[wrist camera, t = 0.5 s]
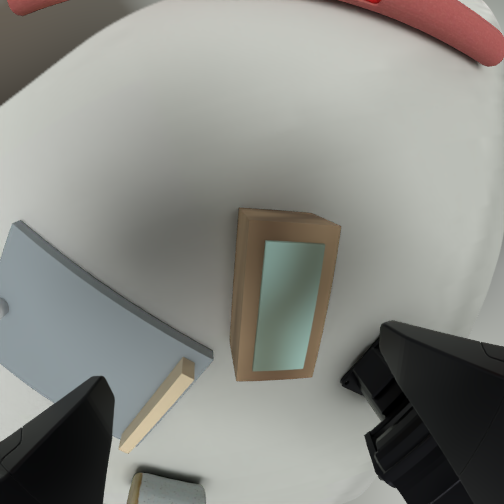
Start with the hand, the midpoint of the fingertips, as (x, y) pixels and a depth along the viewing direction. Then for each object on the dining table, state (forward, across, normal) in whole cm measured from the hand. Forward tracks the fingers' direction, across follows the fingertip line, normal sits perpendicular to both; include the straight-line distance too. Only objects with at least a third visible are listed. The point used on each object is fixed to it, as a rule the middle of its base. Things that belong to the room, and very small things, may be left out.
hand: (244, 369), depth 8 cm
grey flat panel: (+12, +14, +5) cm, 19 cm away
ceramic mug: (+13, +14, +28) cm, 33 cm away
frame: (+12, -3, +2) cm, 13 cm away
